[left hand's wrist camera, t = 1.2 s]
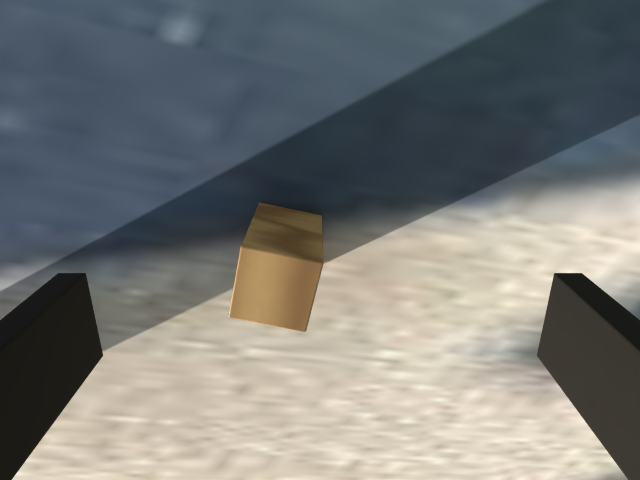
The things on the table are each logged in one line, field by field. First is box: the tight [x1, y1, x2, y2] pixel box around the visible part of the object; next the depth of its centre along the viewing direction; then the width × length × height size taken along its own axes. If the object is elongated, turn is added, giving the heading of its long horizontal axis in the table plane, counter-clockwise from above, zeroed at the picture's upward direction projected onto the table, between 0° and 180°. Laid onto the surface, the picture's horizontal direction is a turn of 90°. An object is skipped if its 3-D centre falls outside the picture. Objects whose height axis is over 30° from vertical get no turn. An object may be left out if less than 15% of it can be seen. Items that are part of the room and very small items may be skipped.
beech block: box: [229, 202, 323, 332], centre depth 29 cm, size 4×4×8 cm
